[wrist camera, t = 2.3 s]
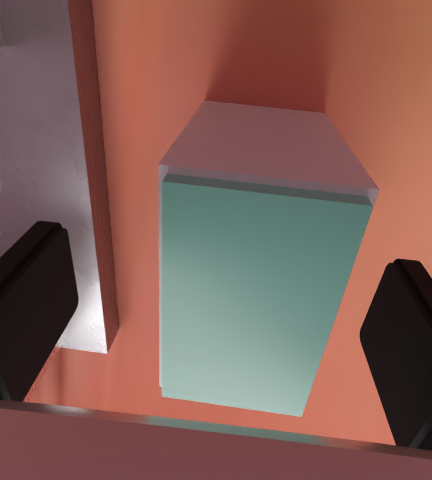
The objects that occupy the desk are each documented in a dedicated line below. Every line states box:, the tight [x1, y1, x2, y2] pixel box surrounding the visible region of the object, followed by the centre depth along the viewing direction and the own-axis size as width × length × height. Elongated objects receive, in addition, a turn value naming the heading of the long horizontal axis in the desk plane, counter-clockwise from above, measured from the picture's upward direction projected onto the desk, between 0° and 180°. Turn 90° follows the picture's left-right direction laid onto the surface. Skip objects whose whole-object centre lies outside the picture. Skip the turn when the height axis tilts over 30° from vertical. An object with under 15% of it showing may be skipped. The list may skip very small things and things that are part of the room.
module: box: [159, 100, 379, 417], centre depth 13 cm, size 5×8×8 cm, turn 175°
